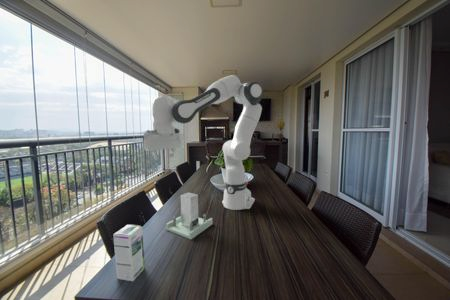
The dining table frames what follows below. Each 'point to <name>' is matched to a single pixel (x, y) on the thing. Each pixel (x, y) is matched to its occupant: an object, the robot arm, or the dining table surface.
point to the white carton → (189, 209)
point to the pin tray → (186, 231)
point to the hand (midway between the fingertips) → (164, 158)
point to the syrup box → (129, 252)
